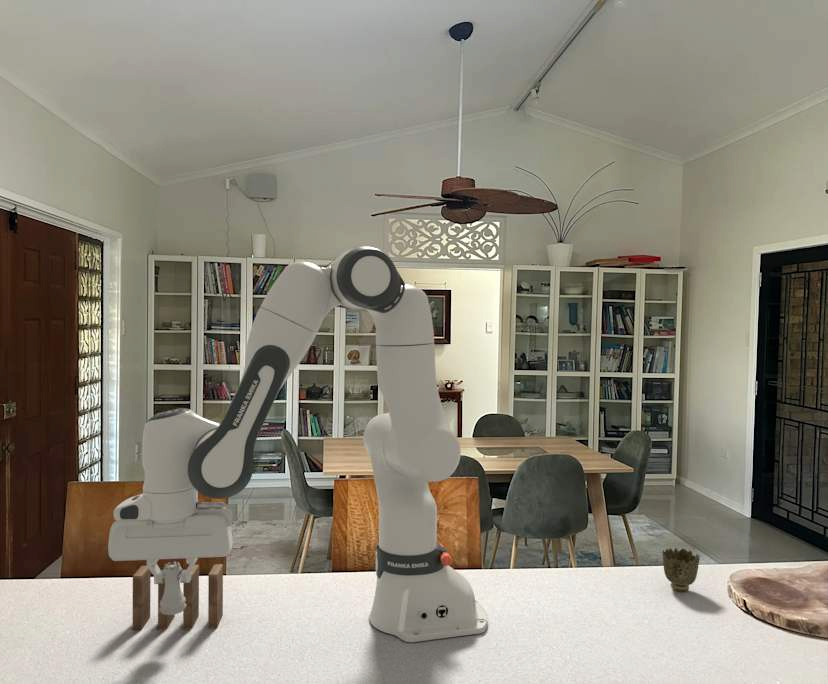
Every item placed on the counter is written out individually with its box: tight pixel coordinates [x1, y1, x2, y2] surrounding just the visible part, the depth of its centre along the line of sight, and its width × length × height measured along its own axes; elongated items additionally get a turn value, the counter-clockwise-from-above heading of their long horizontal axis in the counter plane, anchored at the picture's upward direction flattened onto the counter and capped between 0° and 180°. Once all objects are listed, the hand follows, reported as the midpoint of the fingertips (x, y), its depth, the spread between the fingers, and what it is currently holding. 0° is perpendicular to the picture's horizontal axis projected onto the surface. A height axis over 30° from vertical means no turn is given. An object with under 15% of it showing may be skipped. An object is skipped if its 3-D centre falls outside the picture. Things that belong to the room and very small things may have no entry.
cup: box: [661, 547, 701, 593], centre depth 139 cm, size 8×7×8 cm
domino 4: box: [207, 563, 224, 629], centre depth 121 cm, size 2×5×10 cm, turn 5°
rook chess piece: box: [159, 561, 186, 615], centre depth 111 cm, size 4×4×8 cm
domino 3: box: [182, 564, 200, 630], centre depth 121 cm, size 2×5×10 cm, turn 5°
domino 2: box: [157, 582, 176, 631], centre depth 120 cm, size 2×5×10 cm, turn 5°
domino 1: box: [132, 565, 152, 631], centre depth 120 cm, size 2×5×10 cm, turn 5°
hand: (172, 582), depth 112 cm, fingers closed on rook chess piece, 3 cm apart
